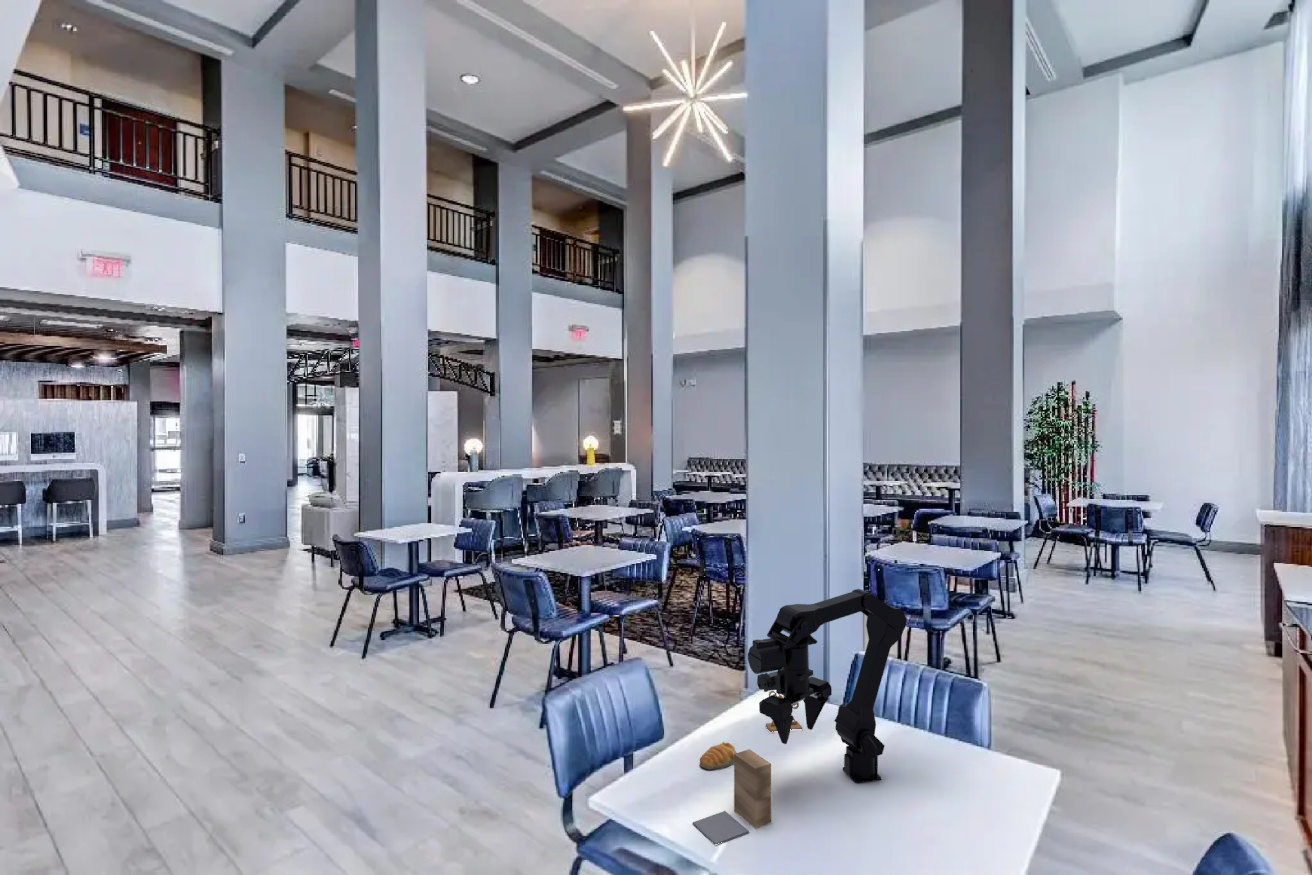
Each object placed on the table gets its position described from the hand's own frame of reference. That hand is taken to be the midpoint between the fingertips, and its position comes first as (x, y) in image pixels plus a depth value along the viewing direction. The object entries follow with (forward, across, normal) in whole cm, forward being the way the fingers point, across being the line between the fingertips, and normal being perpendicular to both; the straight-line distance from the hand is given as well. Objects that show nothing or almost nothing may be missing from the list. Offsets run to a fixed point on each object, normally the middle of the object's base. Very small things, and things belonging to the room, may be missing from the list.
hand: (797, 736), depth 148 cm
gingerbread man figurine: (+13, -22, -21) cm, 33 cm away
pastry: (+12, +4, -20) cm, 24 cm away
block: (+12, +15, 0) cm, 19 cm away
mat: (+11, +23, -2) cm, 26 cm away
